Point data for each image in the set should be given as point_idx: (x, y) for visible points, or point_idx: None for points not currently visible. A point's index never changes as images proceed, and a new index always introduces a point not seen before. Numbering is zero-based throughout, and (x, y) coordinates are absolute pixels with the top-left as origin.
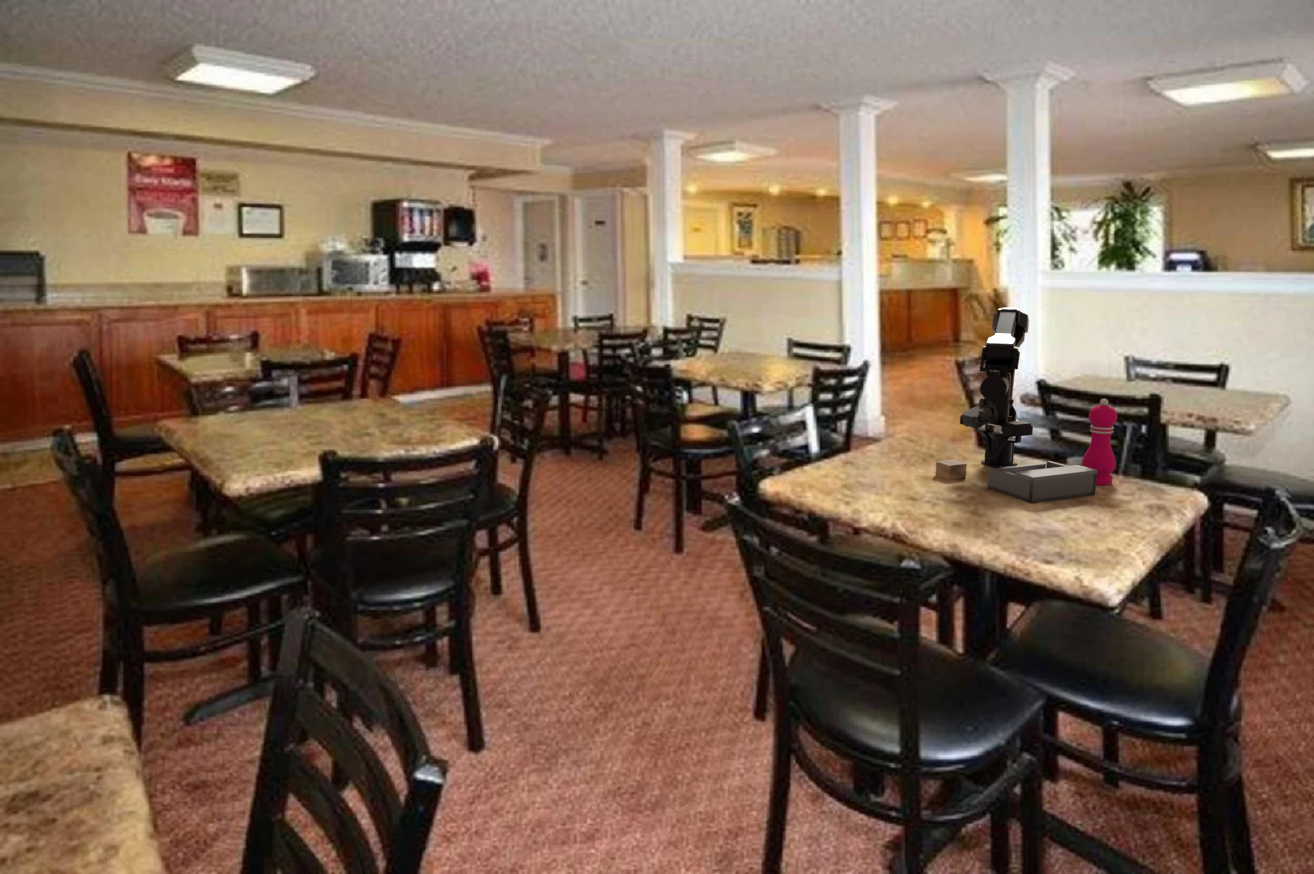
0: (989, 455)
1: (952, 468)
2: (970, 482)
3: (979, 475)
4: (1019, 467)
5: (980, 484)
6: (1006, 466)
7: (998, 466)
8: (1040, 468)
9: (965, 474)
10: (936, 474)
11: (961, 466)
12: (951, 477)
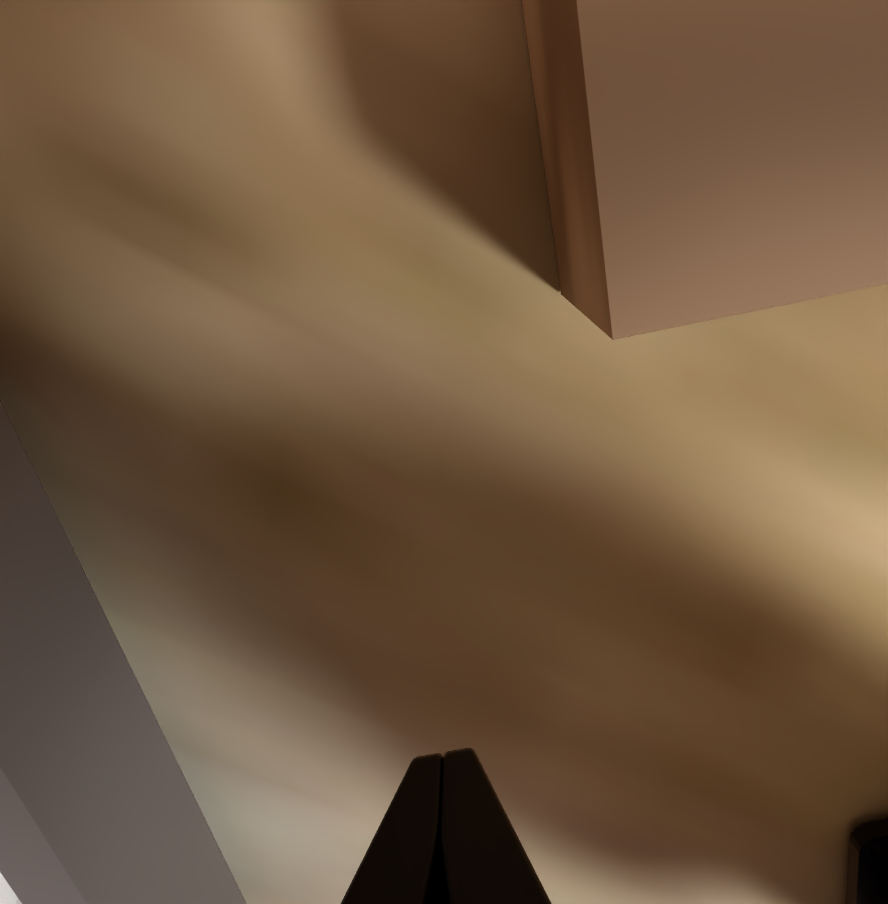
0: (487, 782)
1: None
2: (305, 229)
3: (636, 524)
4: (16, 873)
5: (180, 309)
6: (847, 896)
7: (859, 839)
8: None
9: (567, 292)
10: None
11: (591, 214)
12: (529, 2)
